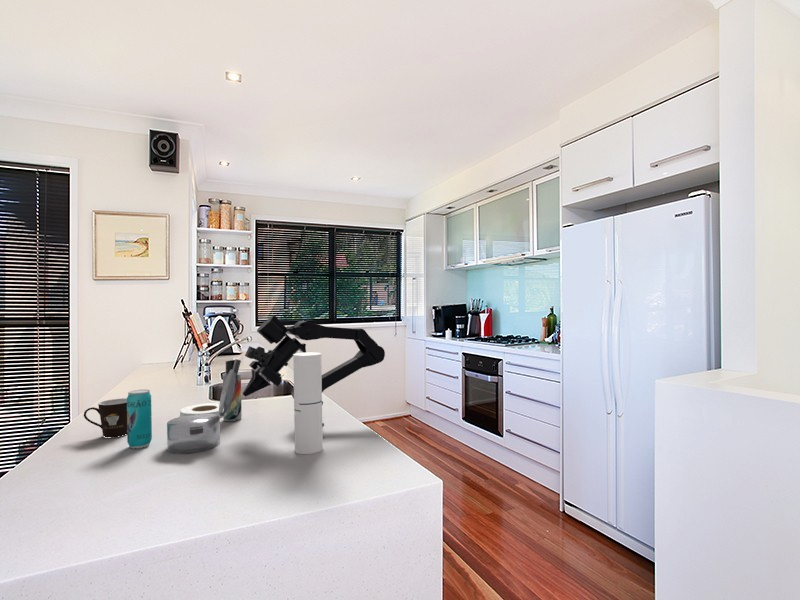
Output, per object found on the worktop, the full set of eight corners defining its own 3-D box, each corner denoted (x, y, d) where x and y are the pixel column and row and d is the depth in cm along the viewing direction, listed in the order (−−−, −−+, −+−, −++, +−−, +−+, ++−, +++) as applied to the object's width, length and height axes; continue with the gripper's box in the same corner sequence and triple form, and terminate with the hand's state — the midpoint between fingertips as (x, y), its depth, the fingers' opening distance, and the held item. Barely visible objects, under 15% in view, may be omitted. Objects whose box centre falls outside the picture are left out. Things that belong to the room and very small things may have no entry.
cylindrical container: (316, 454, 110) (314, 355, 110) (290, 453, 111) (288, 355, 111) (326, 445, 117) (325, 352, 117) (301, 444, 118) (300, 352, 118)
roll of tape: (237, 413, 154) (237, 405, 154) (197, 424, 141) (197, 415, 141) (210, 408, 163) (210, 401, 163) (170, 418, 150) (170, 410, 150)
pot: (216, 433, 130) (215, 409, 130) (224, 450, 114) (223, 423, 114) (166, 440, 123) (166, 416, 123) (168, 459, 108) (167, 431, 108)
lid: (216, 410, 128) (225, 411, 129) (222, 420, 116) (231, 421, 117) (231, 356, 130) (239, 358, 131) (238, 361, 118) (247, 363, 120)
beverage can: (122, 447, 118) (122, 392, 118) (143, 441, 123) (143, 388, 123) (135, 451, 115) (134, 394, 115) (156, 444, 120) (155, 390, 120)
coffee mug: (139, 431, 134) (139, 398, 134) (118, 439, 125) (118, 405, 125) (104, 430, 135) (104, 398, 135) (81, 439, 126) (81, 404, 126)
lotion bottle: (229, 422, 141) (228, 361, 141) (219, 420, 145) (219, 360, 145) (245, 418, 146) (244, 359, 146) (235, 416, 149) (234, 358, 149)
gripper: (255, 334, 136) (218, 373, 131) (269, 338, 120) (227, 382, 114) (281, 357, 140) (245, 396, 134) (298, 364, 124) (258, 408, 118)
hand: (243, 395), depth 125 cm, fingers closed
